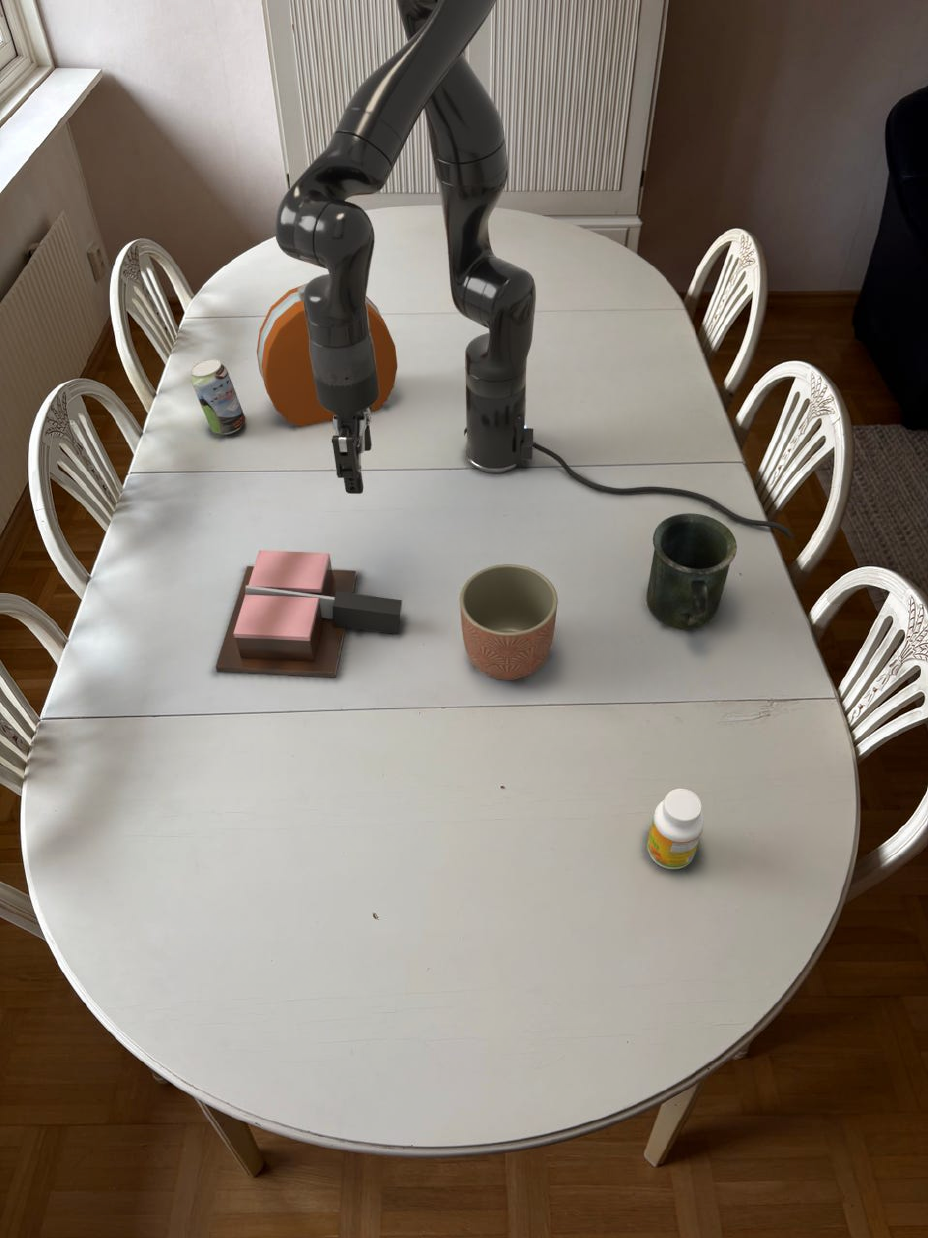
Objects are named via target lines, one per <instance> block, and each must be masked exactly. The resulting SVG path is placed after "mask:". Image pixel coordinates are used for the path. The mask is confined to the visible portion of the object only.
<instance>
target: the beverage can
mask: <svg viewBox="0 0 928 1238" xmlns="http://www.w3.org/2000/svg"><path fill="white" fill-rule="evenodd" d="M190 382H191V384H192V387H193V389H194V391H195V395H196V397H197V399H198V401H199V404H200V406H201V409H202V411H203V414H204V417H205V419H206V421H207V424H208V426H209V428H210V430H211V431H212V432H213V433H214V434H218V435H222V436H223V435H230V434H233V433H235V432H237V431H239V430H240V429H241V428H242V426H243V425H244V424H245V422H246V417H245V413H244V411H243V408H242V406H241V403H240V401H239V398H238V395H237V392H236V389H235V387H234V384H233V382H232V379H231V376H230V373H229V370H228V369H227V367H226V366H225V365H224V364H222V363H221V361H220V360H219V359H213V358H212V359H205V360H203V361H200V362H197V364H195V365H194V366H193V367H192V368H191V375H190Z"/></svg>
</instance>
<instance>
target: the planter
mask: <svg viewBox="0 0 928 1238" xmlns="http://www.w3.org/2000/svg"><path fill="white" fill-rule="evenodd" d="M557 593H558V592H557V590H556V588H555V586H554V584H553V583H552V582H551V581H550V580H549V578H548V577H546V576H545V575H544V574H543V573H541V572H539V571H538V570H536V569H534V568H531V567H529V566H525V565H522V564H521V565H520V564H512V563H503V564H502V563H501V564H495V565H492V566H488V567H485V568H482V569H480V570H479V571H477V572H475V573H474V574H472V575H471V576H470V577H469V579H467V580H466V581H465V583H464V584H463V586H462V588H461V590H460V594H459V609H460V610H459V611H460V621H461V623H460V624H461V632H462V639H463V645H464V649H465V653H466V654H467V657H468V659H469V661H470V662H471V664H472V665H473V666H474V667H475V668H476V669H477V671H480V672H481V673H483V674H484V675H485V676H486V675H487V676H488V677H491V678H494V679H497V680H506V681H509V680H519V679H523V678H525V677H528V676H530V675H532V674H533V673H535V672H536V671H538V670H539V669H540V668H541V667H542V666H543V665H544V664H545V662H546V660H547V659H548V657H549V654H550V652H551V649H552V644H553V640H554V635H555V627H556V619H557V613H558V612H557V611H558V604H559V599H558V594H557Z"/></svg>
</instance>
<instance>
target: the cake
mask: <svg viewBox="0 0 928 1238" xmlns="http://www.w3.org/2000/svg"><path fill="white" fill-rule="evenodd" d="M330 554H331V553H329V552H314V551H313V552H311V551H286V550H285V551H284V550H263V549H261V550H258V552H257V556H256V559H255V562H254V565H253V566H252V565H246V568H245V572H244V574H243V579H242V580H241V581H242V582H241V584H240V588H239V591H238V594H237V598H236V600H235V604H234V607H233V610H232V613H231V616H230V620H229V623H228V626H227V630H226V632H225V636H224V638H223V641H222V645H221V648H220V651H219V654H218V657H217V661H216V664H215V669H216V672H220V673H237V674H256V675H257V674H259V675H281V676H299V677H300V676H301V677H321V678H322V677H323V678H336V676H337V671H338V666H339V661H340V658H341V657H340V656H341V652H342V648H343V643H344V638H345V633H346V628H347V627H341V626H333V625H332V620H333V619H329V618H322V614H321V608H320V603H319V598H310V597H287V596H264V595H246V590H245V587H246V585H248V586H256V587H263V588H270V589H278V590H285V591H292V592H300V593H307V594H314V595H322V596H329V597H335V594H336V591H339V592H347V593H354V590H355V585H356V580H357V576H358V575H357V574H358V573H357V570H352V569H351V570H348V569H333V567H332V561H331V555H330Z"/></svg>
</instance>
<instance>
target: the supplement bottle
mask: <svg viewBox="0 0 928 1238" xmlns="http://www.w3.org/2000/svg"><path fill="white" fill-rule="evenodd" d="M702 807H703V806H702V802H701V799H700V797H699V796H698V795H697V794H696V793H695V792H693V791H691V790H689V789H685V788H676V789H673V790H670V792H668V793H667V794H666V795H665V797H664V799H663V800H661V801H660V802H659V803H658V804H657V806H656V808H655V811H654V814H653V818H652V822H651V827H650V829H649V834H648V838H647V843H646V846H647V847H646V848H647V852H648V854H649V856H650V858H651V860H653V861H654V862H655V863H656V864H657V865H659V866H660V867H662V868H664V869H668V870H678V869H679V870H680V869H683V868H685V867H687V866H688V865H689V864H690V863H691V862H692V861H693V859H694V857H695V855H696V852H697V849H698V845H699V842H700V838H701V836H702V832H703V830H704V823H705V817H704V813H703V811H702Z"/></svg>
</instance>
